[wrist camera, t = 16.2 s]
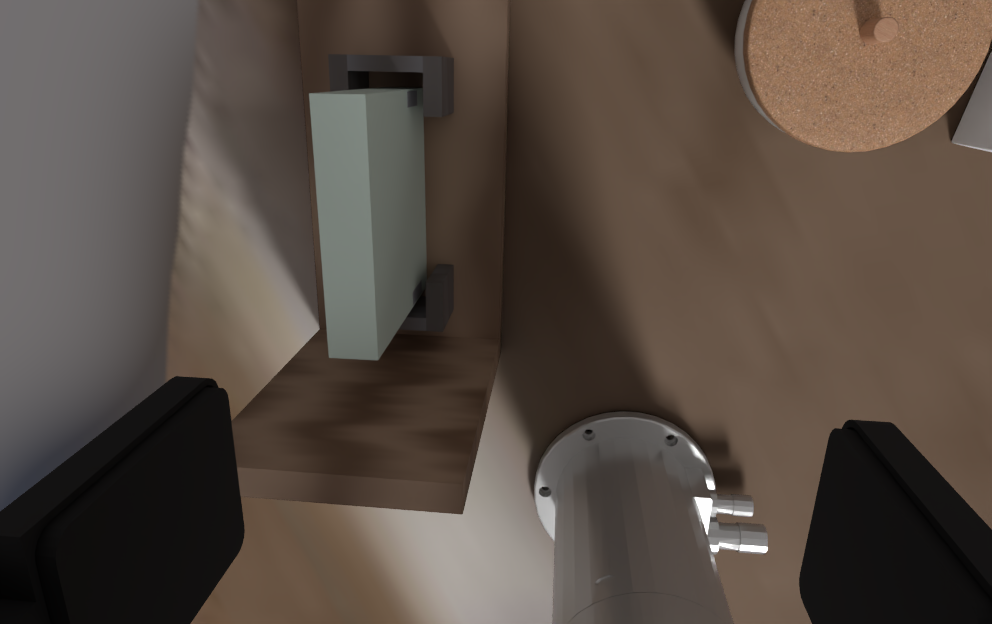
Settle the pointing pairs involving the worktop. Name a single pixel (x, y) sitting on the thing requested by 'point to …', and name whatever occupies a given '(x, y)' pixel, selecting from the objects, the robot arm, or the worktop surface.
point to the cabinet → (449, 287)
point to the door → (369, 213)
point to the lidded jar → (859, 65)
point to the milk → (978, 114)
